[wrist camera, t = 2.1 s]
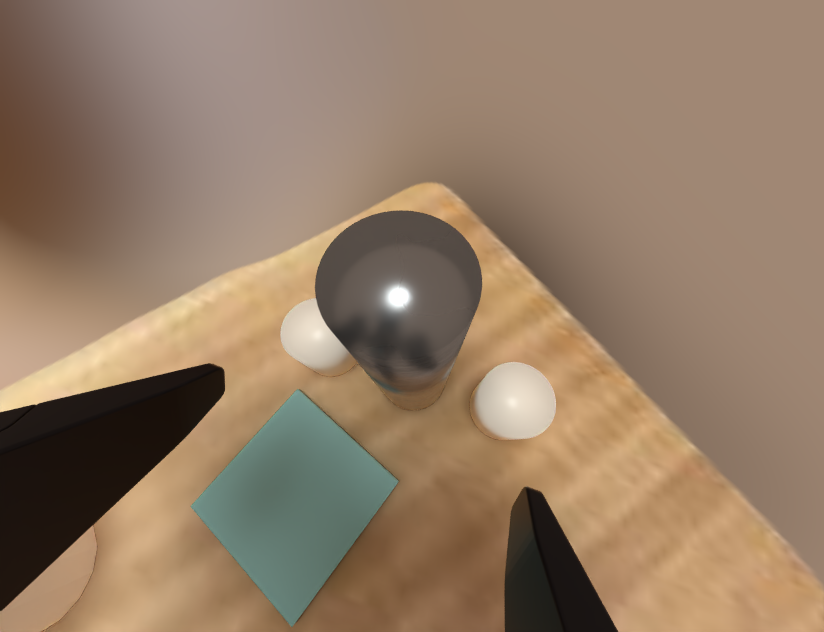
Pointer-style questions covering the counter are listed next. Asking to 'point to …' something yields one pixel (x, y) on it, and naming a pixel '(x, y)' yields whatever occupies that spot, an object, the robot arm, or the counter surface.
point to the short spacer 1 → (314, 341)
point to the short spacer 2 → (513, 402)
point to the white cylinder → (52, 589)
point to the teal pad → (294, 503)
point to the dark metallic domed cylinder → (401, 300)
